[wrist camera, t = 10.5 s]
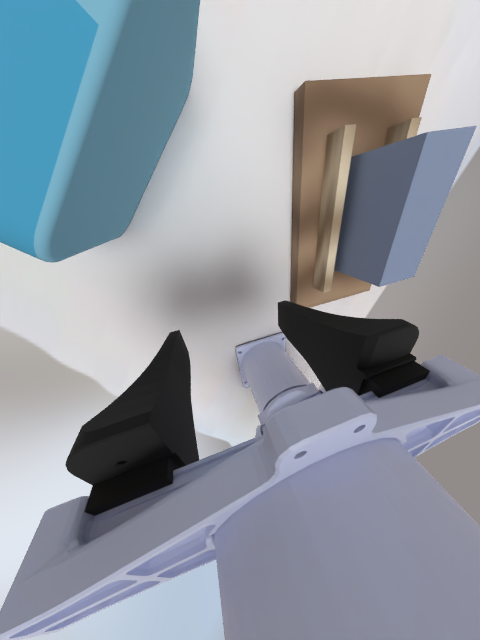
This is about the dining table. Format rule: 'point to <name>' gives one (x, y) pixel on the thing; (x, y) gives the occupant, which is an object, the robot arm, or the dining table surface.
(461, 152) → the slate blue book
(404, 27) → the dining table surface
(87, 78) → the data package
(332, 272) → the shelf board
